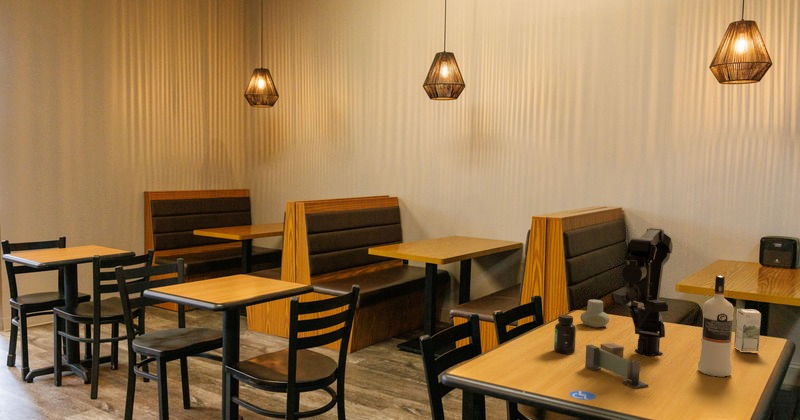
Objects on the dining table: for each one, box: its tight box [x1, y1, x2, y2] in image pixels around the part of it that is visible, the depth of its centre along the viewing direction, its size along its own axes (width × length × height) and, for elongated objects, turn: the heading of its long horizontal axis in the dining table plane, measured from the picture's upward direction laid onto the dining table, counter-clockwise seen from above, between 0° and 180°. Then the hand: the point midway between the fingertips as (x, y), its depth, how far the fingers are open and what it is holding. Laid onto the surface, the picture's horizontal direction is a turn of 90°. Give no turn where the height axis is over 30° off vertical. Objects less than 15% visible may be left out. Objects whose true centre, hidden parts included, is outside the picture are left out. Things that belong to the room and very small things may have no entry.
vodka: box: [697, 275, 735, 378], centre depth 191 cm, size 9×9×30 cm
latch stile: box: [584, 344, 600, 372], centre depth 193 cm, size 2×4×7 cm
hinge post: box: [621, 359, 649, 390], centre depth 179 cm, size 5×5×7 cm
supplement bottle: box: [553, 314, 577, 355], centre depth 211 cm, size 7×7×12 cm
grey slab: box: [598, 347, 633, 380], centre depth 188 cm, size 15×2×6 cm, turn 22°
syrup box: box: [733, 308, 762, 352], centre depth 217 cm, size 6×6×14 cm
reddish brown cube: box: [599, 342, 625, 358], centre depth 202 cm, size 5×5×5 cm
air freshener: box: [579, 299, 610, 329], centre depth 248 cm, size 11×8×10 cm
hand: (637, 328), depth 196 cm, fingers closed
